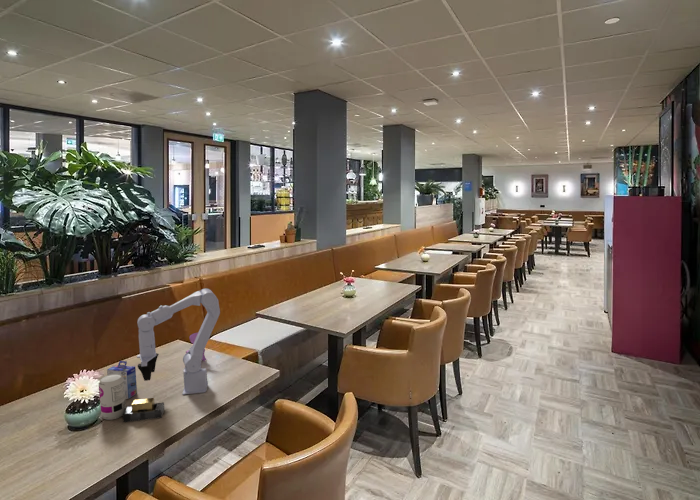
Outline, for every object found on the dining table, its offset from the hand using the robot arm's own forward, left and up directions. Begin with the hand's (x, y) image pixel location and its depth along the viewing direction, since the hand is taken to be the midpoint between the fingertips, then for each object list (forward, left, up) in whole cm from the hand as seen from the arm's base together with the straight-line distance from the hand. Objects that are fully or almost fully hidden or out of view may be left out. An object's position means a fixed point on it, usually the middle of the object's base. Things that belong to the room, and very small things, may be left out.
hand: (149, 376), depth 167 cm
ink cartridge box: (+12, -6, -10) cm, 17 cm away
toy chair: (-14, -33, -10) cm, 37 cm away
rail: (-1, +14, -10) cm, 17 cm away
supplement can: (+11, +10, -10) cm, 18 cm away
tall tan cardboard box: (0, +14, -10) cm, 17 cm away
